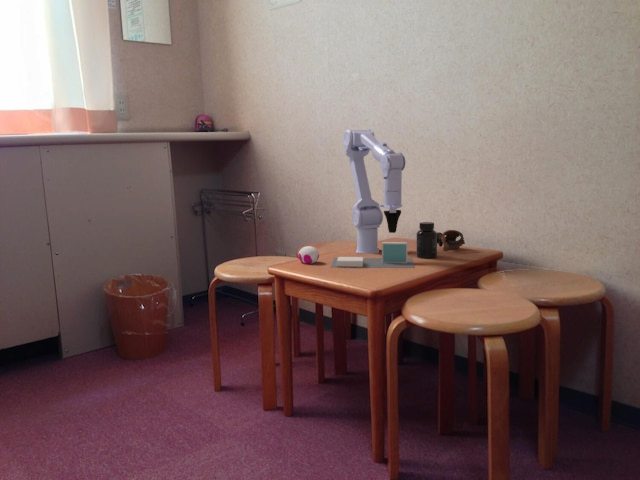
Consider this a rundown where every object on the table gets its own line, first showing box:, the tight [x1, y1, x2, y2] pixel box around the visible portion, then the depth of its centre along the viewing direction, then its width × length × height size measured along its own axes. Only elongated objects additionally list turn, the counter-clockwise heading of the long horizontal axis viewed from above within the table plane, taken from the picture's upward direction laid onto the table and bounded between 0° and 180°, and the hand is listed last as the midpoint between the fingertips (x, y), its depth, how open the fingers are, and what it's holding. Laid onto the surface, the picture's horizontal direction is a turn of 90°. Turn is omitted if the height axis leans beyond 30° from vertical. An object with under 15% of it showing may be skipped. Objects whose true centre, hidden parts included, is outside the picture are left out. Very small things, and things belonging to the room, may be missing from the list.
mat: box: [330, 257, 416, 269], centre depth 182 cm, size 15×26×1 cm, turn 84°
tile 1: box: [337, 256, 364, 268], centre depth 179 cm, size 2×8×6 cm
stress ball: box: [297, 245, 320, 265], centre depth 183 cm, size 8×8×7 cm
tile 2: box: [381, 241, 408, 263], centre depth 181 cm, size 2×8×6 cm, turn 84°
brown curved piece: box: [436, 229, 466, 253], centre depth 205 cm, size 12×10×8 cm
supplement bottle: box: [416, 221, 438, 260], centre depth 189 cm, size 7×7×12 cm
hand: (392, 232), depth 185 cm, fingers closed
